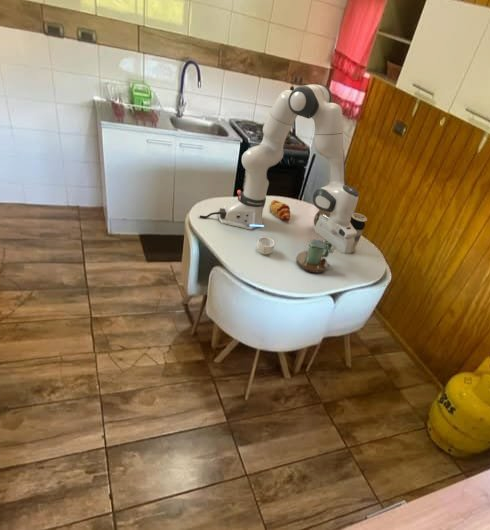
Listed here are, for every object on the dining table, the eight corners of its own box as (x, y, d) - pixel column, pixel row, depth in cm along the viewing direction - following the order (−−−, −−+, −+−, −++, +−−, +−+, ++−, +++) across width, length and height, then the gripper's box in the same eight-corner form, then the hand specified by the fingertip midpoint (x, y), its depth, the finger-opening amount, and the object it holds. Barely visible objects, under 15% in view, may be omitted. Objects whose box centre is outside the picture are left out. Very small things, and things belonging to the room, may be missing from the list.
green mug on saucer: (309, 274, 160) (316, 255, 154) (289, 256, 169) (296, 236, 163) (335, 268, 167) (343, 249, 161) (315, 251, 176) (322, 232, 170)
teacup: (274, 257, 168) (276, 247, 165) (257, 256, 166) (260, 246, 163) (268, 244, 176) (271, 234, 173) (252, 243, 174) (255, 233, 171)
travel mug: (335, 244, 187) (347, 212, 177) (348, 243, 190) (361, 212, 180) (343, 253, 182) (356, 221, 171) (356, 253, 184) (371, 221, 174)
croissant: (266, 209, 212) (262, 198, 207) (282, 202, 213) (279, 190, 207) (281, 228, 196) (278, 217, 191) (298, 220, 197) (296, 208, 191)
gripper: (316, 212, 165) (307, 239, 173) (349, 237, 152) (338, 264, 160) (326, 211, 169) (317, 237, 176) (360, 234, 156) (348, 261, 163)
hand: (327, 250), depth 168 cm, fingers closed on green mug on saucer, 2 cm apart
